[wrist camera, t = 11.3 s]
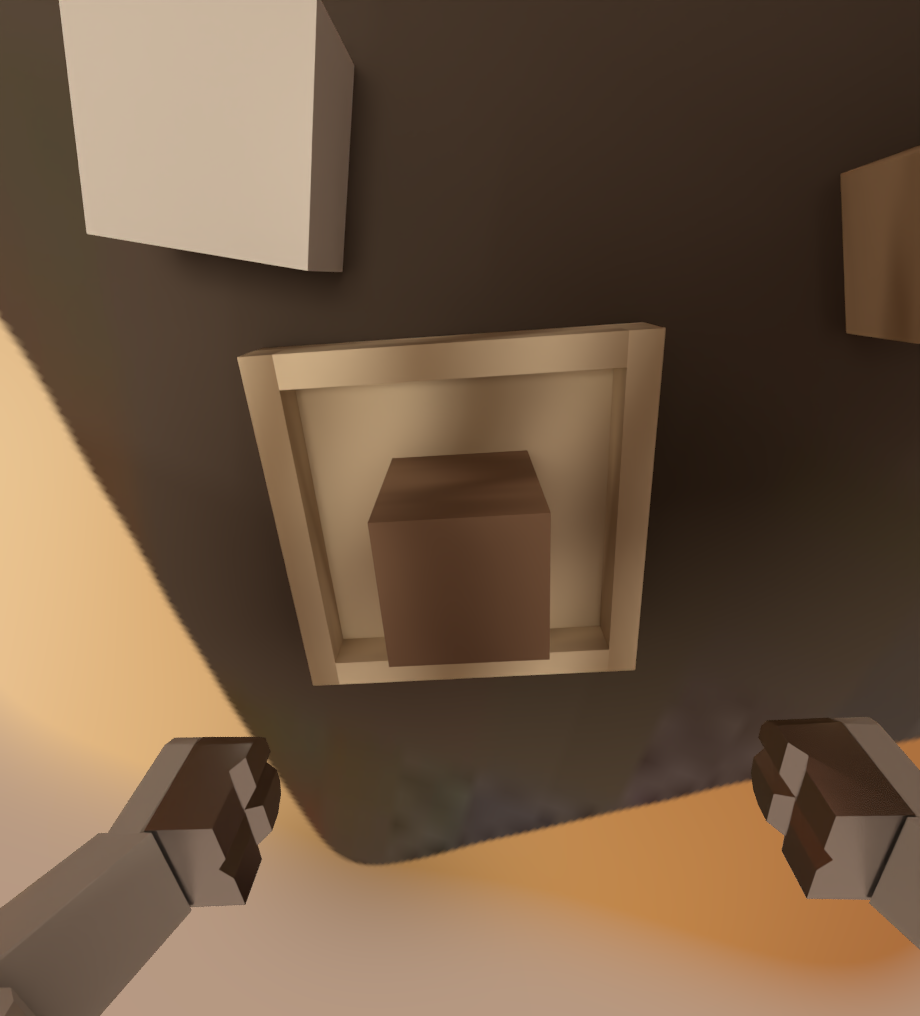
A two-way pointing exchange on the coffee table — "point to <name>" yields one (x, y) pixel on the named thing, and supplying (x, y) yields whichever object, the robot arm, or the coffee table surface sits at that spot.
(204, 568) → the coffee table surface
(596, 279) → the coffee table surface
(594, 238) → the coffee table surface
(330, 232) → the white plastic block
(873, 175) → the oak block
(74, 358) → the coffee table surface
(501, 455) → the walnut block
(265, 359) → the birch tray
